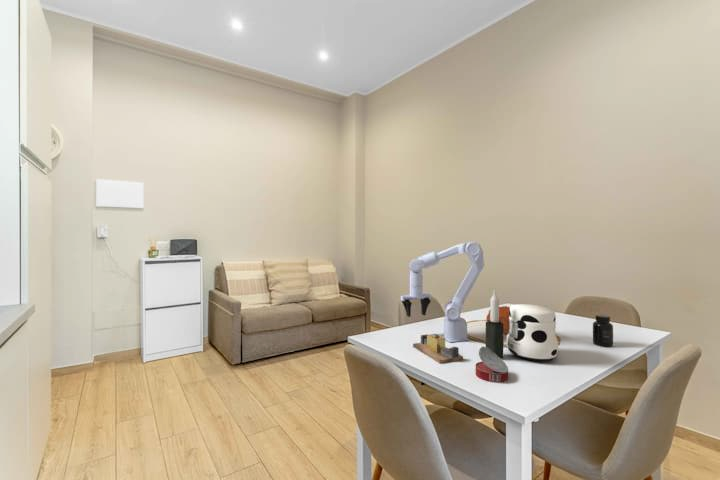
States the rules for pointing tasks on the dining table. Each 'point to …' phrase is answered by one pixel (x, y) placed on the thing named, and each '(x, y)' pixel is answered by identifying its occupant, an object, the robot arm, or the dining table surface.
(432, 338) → the block
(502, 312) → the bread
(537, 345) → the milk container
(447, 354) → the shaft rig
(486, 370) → the canned food
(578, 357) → the dining table surface
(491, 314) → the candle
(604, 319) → the supplement bottle
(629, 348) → the dining table surface
